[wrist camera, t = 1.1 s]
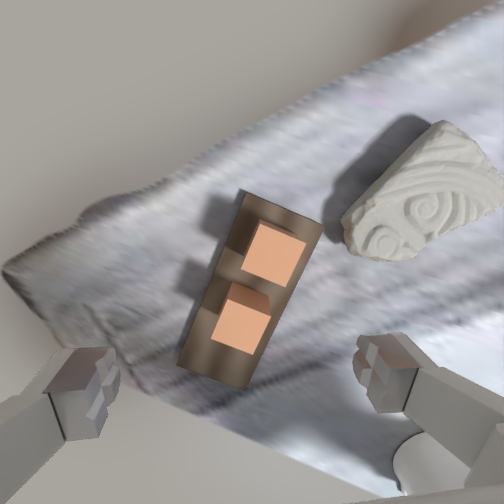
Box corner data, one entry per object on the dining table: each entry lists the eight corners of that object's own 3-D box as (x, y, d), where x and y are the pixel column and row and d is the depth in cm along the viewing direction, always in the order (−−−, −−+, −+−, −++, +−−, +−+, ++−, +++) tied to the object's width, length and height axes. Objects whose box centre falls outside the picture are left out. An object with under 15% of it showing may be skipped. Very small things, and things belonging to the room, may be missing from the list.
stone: (429, 121, 36) (457, 109, 31) (494, 193, 39) (531, 193, 33) (323, 230, 40) (333, 235, 35) (387, 290, 42) (405, 303, 37)
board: (323, 225, 40) (325, 226, 39) (244, 385, 46) (244, 390, 45) (246, 192, 39) (246, 192, 38) (178, 360, 46) (176, 365, 44)
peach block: (297, 234, 39) (306, 243, 32) (280, 271, 40) (285, 287, 33) (259, 218, 38) (260, 223, 32) (243, 256, 40) (240, 268, 33)
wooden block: (268, 296, 41) (271, 316, 34) (253, 329, 43) (252, 354, 36) (232, 281, 41) (227, 299, 34) (217, 315, 42) (210, 338, 35)
